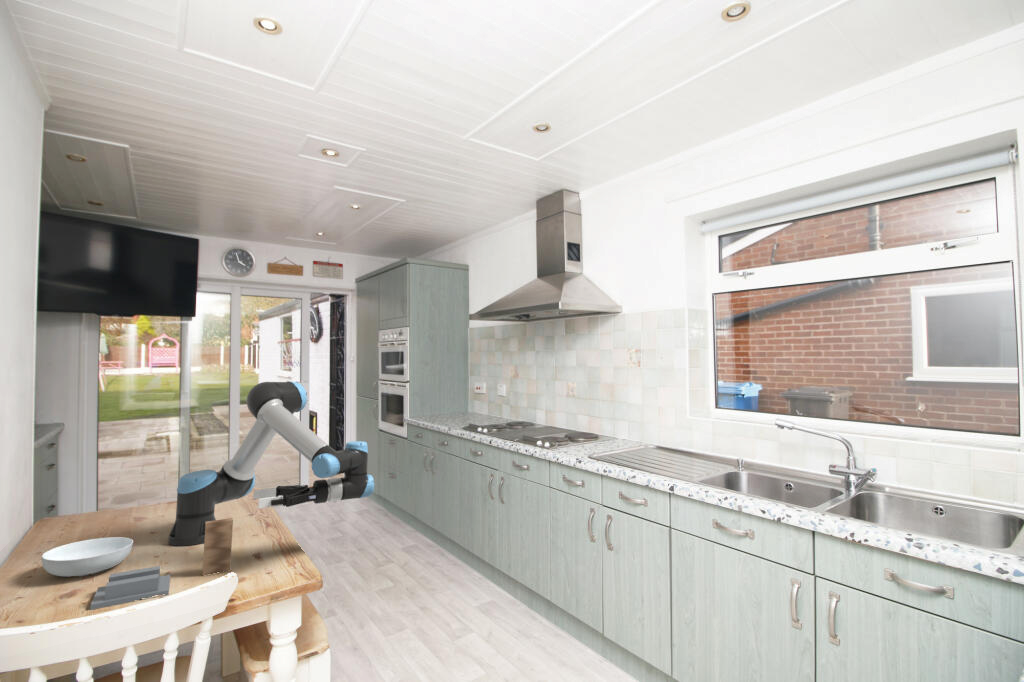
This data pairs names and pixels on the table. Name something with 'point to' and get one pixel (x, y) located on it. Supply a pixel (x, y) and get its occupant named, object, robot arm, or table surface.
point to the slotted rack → (131, 587)
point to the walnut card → (217, 546)
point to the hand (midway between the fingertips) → (255, 499)
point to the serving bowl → (86, 556)
